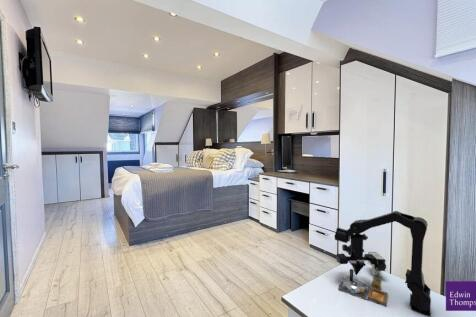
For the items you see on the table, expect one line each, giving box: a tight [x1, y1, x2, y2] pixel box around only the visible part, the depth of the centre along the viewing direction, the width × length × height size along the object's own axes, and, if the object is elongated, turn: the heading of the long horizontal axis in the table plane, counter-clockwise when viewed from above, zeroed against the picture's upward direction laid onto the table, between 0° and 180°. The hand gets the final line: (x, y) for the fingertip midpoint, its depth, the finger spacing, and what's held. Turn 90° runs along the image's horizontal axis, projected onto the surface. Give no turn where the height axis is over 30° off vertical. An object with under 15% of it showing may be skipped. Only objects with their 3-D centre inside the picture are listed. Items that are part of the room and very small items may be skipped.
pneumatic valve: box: [367, 251, 387, 277], centre depth 124 cm, size 6×12×12 cm, turn 174°
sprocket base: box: [337, 277, 370, 301], centre depth 112 cm, size 12×12×1 cm
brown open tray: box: [366, 286, 389, 307], centre depth 105 cm, size 7×9×2 cm
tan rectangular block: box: [371, 276, 382, 291], centre depth 113 cm, size 4×5×4 cm
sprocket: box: [339, 268, 369, 295], centre depth 112 cm, size 12×12×6 cm
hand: (355, 274), depth 116 cm, fingers closed
